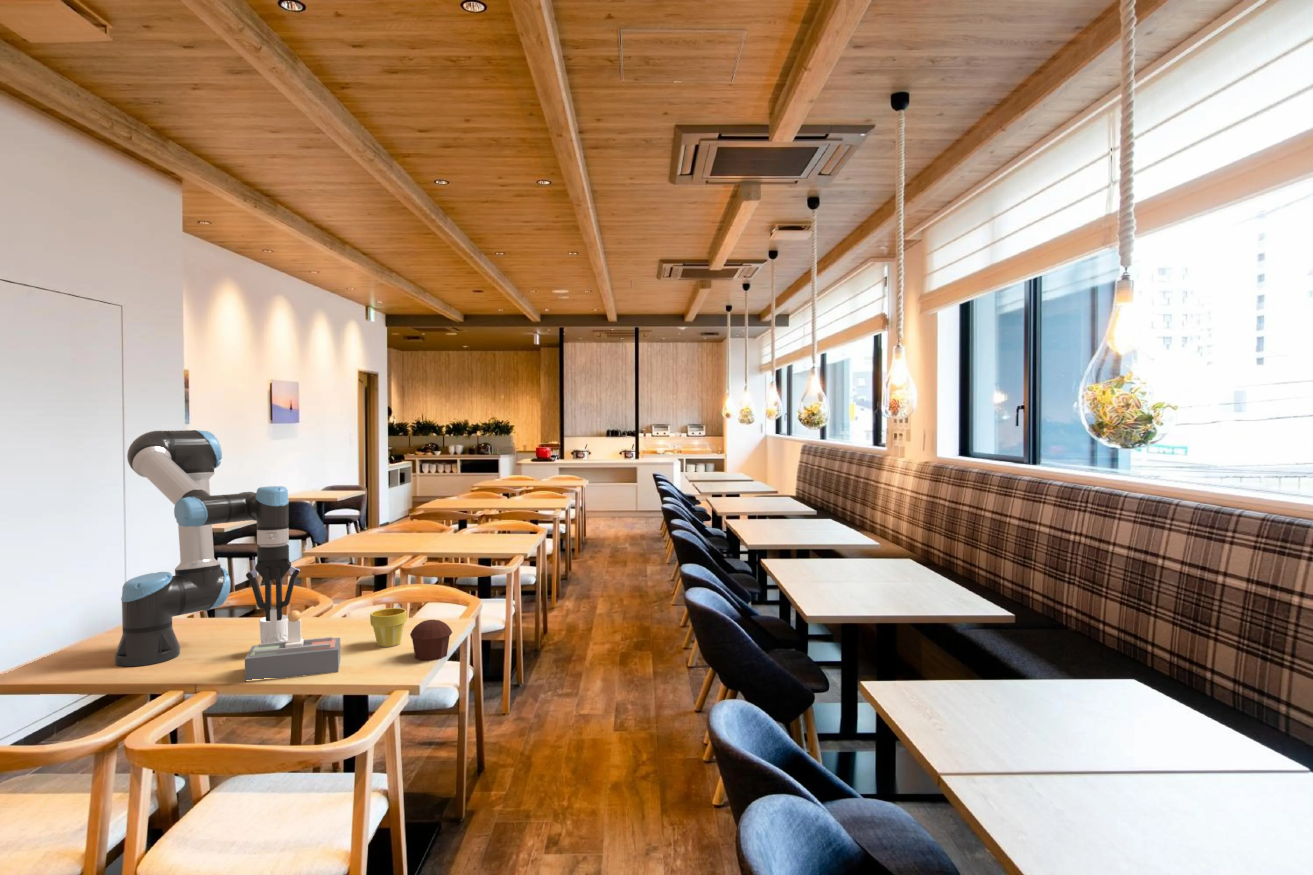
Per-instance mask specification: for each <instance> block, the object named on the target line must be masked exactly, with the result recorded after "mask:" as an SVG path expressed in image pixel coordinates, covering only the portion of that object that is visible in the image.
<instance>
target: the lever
mask: <svg viewBox="0 0 1313 875" xmlns="http://www.w3.org/2000/svg"><path fill="white" fill-rule="evenodd" d="M287 615H288V640H287V642H286V644H285V648H290V647H300V646H303V643H304V640H305V639H304V638H303V637H302V613H301V612H300V611H299V610H297V609H296V610H295V609H294V610H291V611H289V613H288V614H287Z"/></svg>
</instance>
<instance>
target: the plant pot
mask: <svg viewBox="0 0 1313 875" xmlns="http://www.w3.org/2000/svg"><path fill="white" fill-rule="evenodd" d="M369 614H370V615H369V617H370V619H369V620H370V622H369V623H370V626H372V628H373V632H374V635H375V639H376V644H377V646H378V647H383V648H390V647H396V646H398V645H400V644H401V643H402V637H403V633H404V627H405V624H406V622H407V617H408V615H407V610H406V608H401V607H390V608H389V607H388V608H387V607H386V608H381V609H378V610H377V609H376V610H374V611H372V612H370V613H369Z"/></svg>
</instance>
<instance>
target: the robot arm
mask: <svg viewBox="0 0 1313 875" xmlns="http://www.w3.org/2000/svg"><path fill="white" fill-rule="evenodd" d="M126 457H127V463H128V465H129V467H130V469H132V470H133V471H134V473H135V474H137V475H138V476H139V477H141V478H146V479H148V481H149V482H150V483H152V484H153V485H154V486H155V487H156V488H157V489H158V490H159V491H160V493H162V494H163V495H164V496H165V497H166V498H167V499H168V500H169V501H170V502H171V503H172V504H173V505H174V509H173V514H174V518H175V519H176V523H177V528H178V542H179V545H178V546H179V559H180V560H179V561H180V562H179V564H178V565H177V566H176V567H175V568H174V575H172V573H171V572H169V571H159V572H152V573H151V572H150V573H147V574H142V575H138V576H135V577H132V578H130V579H128V580H127V581H125V583H124V584H123V585H122V592H121V598H120V600H121V609H122V610H121V614H122V615H121V617H122V618H121V619H122V620H121V624H122V636H121V638H120V641H119V644H118V646H117V649H116V651H115V654H114V664H115V665H117V666H121V667H140V666H148V665H154V664H155V665H156V664H160V663H163V662H166V661H169V660H173V659H175V658H177V657H178V656H179V655H180V654H181V646H180V643H179V640H178V638H177V636H176V633H175V631H174V628H173V617H177V616H183V615H188V614H192V613H198V612H203V611H206V612H207V611H210V610H213V609H217V608H220V607H221V606H223V605H224V604H225V602H226V601H227V600H228V598H229V595H230V592H231V578H230V575H229V572H228V570H227V569H226V568H223V567H221V566H222V565H221V562H220V561H218V560H217V559H216V558H215V550H214V535H213V525H218V524H228V523H238V522H240V523H241V522H247V521H254V522H256V544H257V545H259V546H257V548H256V557H257V558H256V559H257V560H256V564H255V567H254V568H253V569H252V570H250V571H247V573H246V574H245V576H246V578H247V579H248V581H249V583H250V585H251V589H252V591H253V595H254V599H255V603H256V605H257V608H258V609H264V610H265V617H266V622H267V621H270V634H277V632H278V620H281V619H282V615H283V608H284V607H287V606H289V604H290V603H291V599H292V594H293V590H294V587H295V583H296V578H297V576H298V575H299V573H300V571H301V569H300V568H296V567H295V566H293V565H292V562H291V561H290V546H289V544H287V543H289V541H290V539H289V538H290V537H289V536H290V535H289V533H290V532H289V531H290V530H289V520H290V519H289V518H290V517H289V509H290V507H289V505H290V504H289V503H290V499H289V491H288V488H287V487H286V486H282V485H281V486H275V485H273V486H272V485H271V486H270V485H269V486H261V487H258V488H257V489H256V492H254V491H242V492H239V493H232V494H217V495H211V489H210V479H211V478H212V477H213V476H214V475H215V469H217V468H218V467H219V466H220V465H221V463H222V458H223V451H222V447H221V444H220V441H219V439H218V438H217V437H216V436H215V435H214V433H212V432H211V431H208V430H199V429H197V430H196V429H193V430H190V429H188V430H187V429H186V430H153V431H148V432H145V433H143V434H141V435H140V436H137V438H135V439H134V440H133V441H132V443H131V444H130V445H129V447H128V450H127V455H126ZM287 572H289V575H290V578H289V581H288V585H287V588H286V592H285V596H284V600H283V579H284V577H285V575H286V574H287ZM258 574H259V576H260V577H261V578H262V579H263V580H264V598H263V596H262V591H261V588H260V586H259V582H258V581H259V580H258V579H257V577H258ZM273 580H274V581H275V600H276V601H275V607H272V606H273V601H272V600H273V599H272V598H273V597H272V581H273Z"/></svg>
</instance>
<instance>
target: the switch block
mask: <svg viewBox="0 0 1313 875" xmlns="http://www.w3.org/2000/svg"><path fill="white" fill-rule="evenodd" d="M286 642H287V641H284V642H273V643H263V644H261V643H259V644H258V645H252V646H250V649H249V651H248V652H247V654H246V656H245V657H244V681H245V680H252V679H264V678H279V679H285V678H286V677H288V678H296V677H295V676H297V677H304V676H303V675H306V676H314V675H313V674H315V675H322V674H321V673H324V674H332V672H333V673H339V669H340V664H341V637H334V638H333V637H332V636H329V637H326V636H325V637H318V638H316V637H315V638H308V639H307V638H306V639H304V643H303V646H300V647H290V648H285V644H286Z"/></svg>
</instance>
